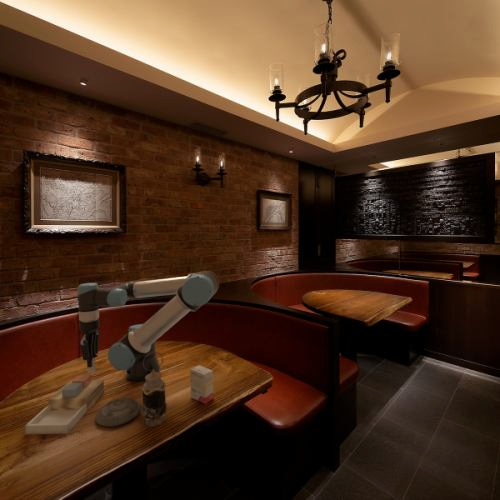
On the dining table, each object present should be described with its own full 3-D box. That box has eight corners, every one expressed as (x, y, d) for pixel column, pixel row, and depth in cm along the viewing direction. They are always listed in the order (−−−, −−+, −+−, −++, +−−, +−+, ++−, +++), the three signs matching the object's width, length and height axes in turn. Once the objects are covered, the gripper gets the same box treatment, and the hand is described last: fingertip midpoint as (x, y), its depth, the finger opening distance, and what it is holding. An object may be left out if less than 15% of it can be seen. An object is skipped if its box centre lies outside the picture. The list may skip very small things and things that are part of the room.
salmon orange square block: (91, 381, 118) (91, 374, 118) (84, 388, 113) (84, 381, 113) (79, 382, 118) (78, 375, 118) (72, 388, 113) (71, 381, 113)
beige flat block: (104, 391, 119) (103, 380, 119) (86, 411, 106) (86, 398, 106) (70, 392, 119) (69, 381, 119) (49, 412, 106) (48, 399, 106)
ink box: (214, 398, 114) (213, 370, 113) (205, 404, 110) (205, 375, 109) (199, 391, 119) (198, 364, 118) (190, 397, 115) (189, 369, 114)
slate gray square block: (83, 390, 112) (82, 382, 112) (75, 397, 107) (75, 389, 107) (70, 390, 112) (70, 382, 112) (62, 397, 107) (61, 389, 107)
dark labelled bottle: (143, 431, 96) (140, 359, 94) (140, 417, 103) (138, 350, 101) (169, 422, 100) (167, 353, 98) (165, 410, 107) (163, 345, 105)
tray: (86, 411, 106) (86, 403, 106) (67, 433, 95) (67, 424, 95) (49, 412, 106) (48, 404, 106) (25, 434, 95) (24, 425, 95)
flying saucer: (111, 436, 94) (111, 420, 94) (87, 420, 102) (86, 405, 101) (149, 411, 107) (149, 397, 106) (124, 399, 115) (124, 386, 114)
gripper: (88, 315, 128) (91, 366, 129) (71, 324, 115) (73, 381, 116) (105, 315, 128) (107, 365, 129) (89, 324, 115) (92, 380, 116)
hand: (91, 373), depth 123 cm, fingers closed
